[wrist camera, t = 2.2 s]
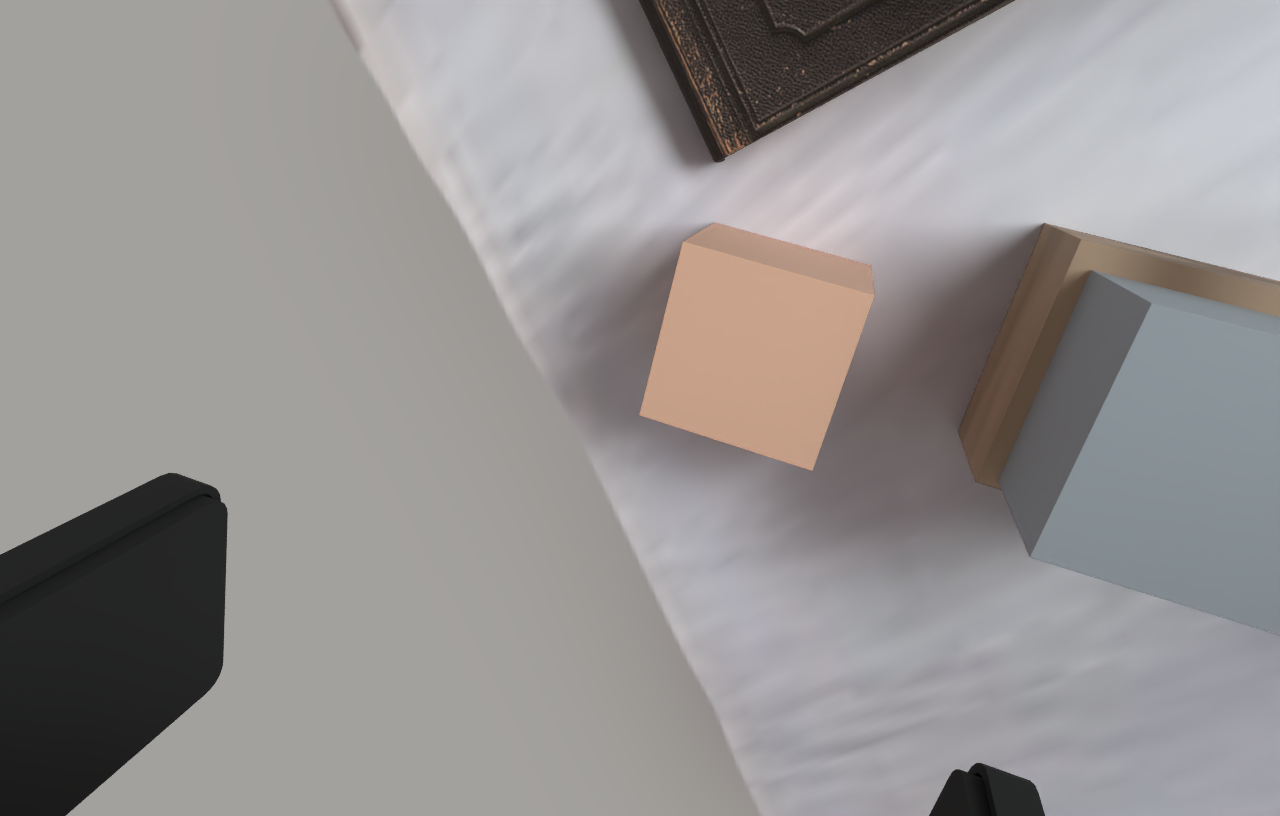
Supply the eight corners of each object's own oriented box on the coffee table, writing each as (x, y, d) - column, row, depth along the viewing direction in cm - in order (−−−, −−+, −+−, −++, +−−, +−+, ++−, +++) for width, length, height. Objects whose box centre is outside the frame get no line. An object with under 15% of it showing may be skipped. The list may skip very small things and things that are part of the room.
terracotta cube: (871, 265, 28) (874, 295, 23) (820, 411, 31) (812, 470, 25) (715, 222, 29) (683, 241, 24) (676, 367, 32) (639, 415, 26)
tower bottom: (1293, 284, 25) (1389, 316, 21) (1177, 494, 28) (1238, 562, 24) (1043, 222, 27) (1081, 239, 22) (957, 429, 30) (975, 481, 25)
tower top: (1357, 336, 21) (1495, 390, 17) (1230, 550, 24) (1319, 647, 19) (1091, 269, 22) (1151, 303, 18) (998, 480, 25) (1029, 557, 20)
